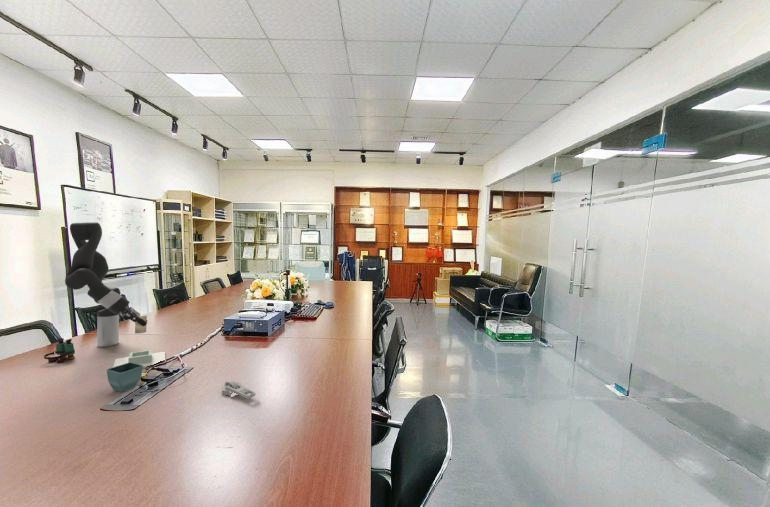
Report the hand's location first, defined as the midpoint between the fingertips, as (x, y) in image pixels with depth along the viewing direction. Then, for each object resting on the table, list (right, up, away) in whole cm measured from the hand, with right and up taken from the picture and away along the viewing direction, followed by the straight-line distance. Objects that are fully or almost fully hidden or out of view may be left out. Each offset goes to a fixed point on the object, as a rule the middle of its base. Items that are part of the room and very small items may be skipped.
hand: (145, 323), depth 152 cm
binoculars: (-42, -19, -2) cm, 45 cm away
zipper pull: (+61, -23, -29) cm, 72 cm away
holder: (-2, -20, -1) cm, 20 cm away
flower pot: (+13, -21, -27) cm, 36 cm away
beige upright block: (-2, -4, -1) cm, 4 cm away
